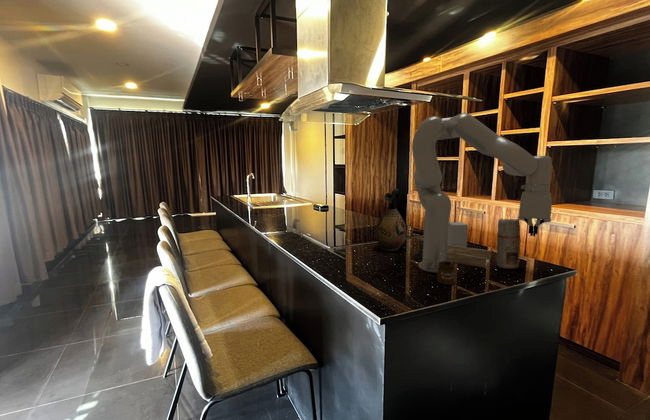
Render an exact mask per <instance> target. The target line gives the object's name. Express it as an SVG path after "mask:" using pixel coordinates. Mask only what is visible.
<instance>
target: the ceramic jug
mask: <svg viewBox="0 0 650 420" xmlns="http://www.w3.org/2000/svg"><path fill="white" fill-rule="evenodd" d="M400 197H401V191H400V189H398V188H396V189H393V190H392V191H391V193H389V192H387V193H385V194H384V200H385V201H386V202H388V203H389V206H388V207H387V209H386V210H385V211H384V213H383V214H382V215H381V216H380V218H379V220H378V222H377V224H376V227H375V230H374V231H375V232H374V236H375V240H376V242H377V244H378V245H379V249H380V250H382V251H385V252H396V251H399V250H398V249H400V247H401V246H402V245H403V244H404V243H405V241H406V240H407V239H406V238H407V236H408V235H407V226H406V223H405V220H404V219H403V217H402V215H401V214H400V212H399V211H398V207H399V202H400V199H401V198H400Z"/></svg>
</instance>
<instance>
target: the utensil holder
mask: <svg viewBox="0 0 650 420" xmlns="http://www.w3.org/2000/svg"><path fill="white" fill-rule="evenodd" d="M456 252H457V250H455V249H454V252H453V255H452V261H451V262H447V261H442V262H440V261H439V267H438V270H437V273H436V281H437V282H438V283H439V284H442V285H445V286H446V285H453V284H454V283H455V279H456V277H455V275H456V270H455V263H452V262H453V259H454V258H455V255H456ZM441 253H442V252H441ZM441 253H440V254H441ZM442 256H443V254H442ZM444 256H445V255H444ZM438 258H439V257H438Z"/></svg>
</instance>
